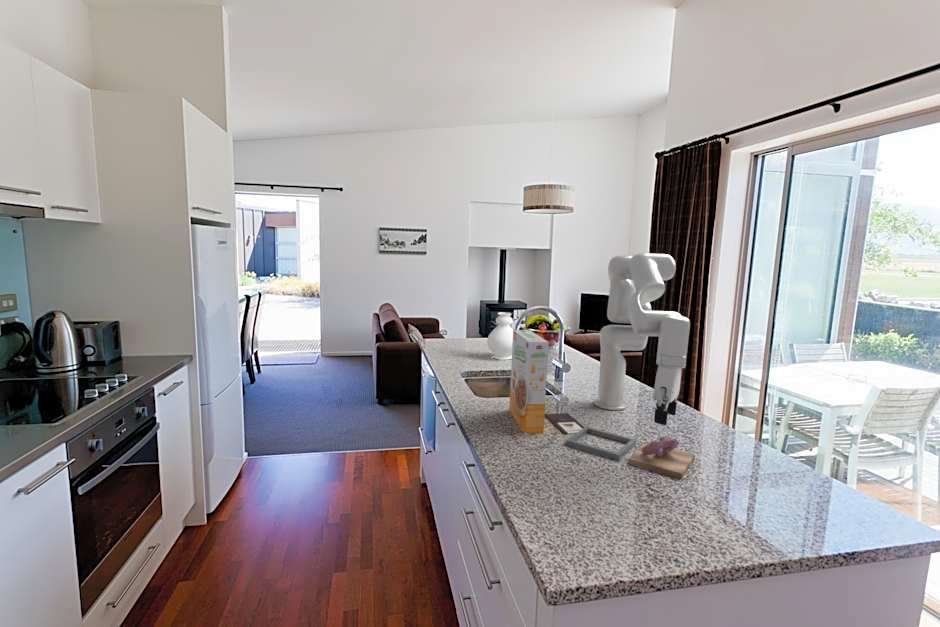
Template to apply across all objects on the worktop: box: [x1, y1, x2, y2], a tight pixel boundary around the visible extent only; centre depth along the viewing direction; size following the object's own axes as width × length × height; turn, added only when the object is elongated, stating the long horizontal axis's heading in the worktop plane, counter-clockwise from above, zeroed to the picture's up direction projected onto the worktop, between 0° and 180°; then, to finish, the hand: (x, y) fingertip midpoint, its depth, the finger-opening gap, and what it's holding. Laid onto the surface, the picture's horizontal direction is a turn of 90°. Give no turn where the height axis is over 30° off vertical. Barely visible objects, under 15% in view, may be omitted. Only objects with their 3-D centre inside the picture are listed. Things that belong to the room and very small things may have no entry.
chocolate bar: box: [544, 412, 590, 435], centre depth 162 cm, size 9×1×18 cm
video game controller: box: [642, 435, 680, 456], centre depth 135 cm, size 10×5×7 cm, turn 118°
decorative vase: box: [486, 311, 514, 359], centre depth 260 cm, size 18×18×25 cm
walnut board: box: [628, 441, 696, 480], centre depth 135 cm, size 16×14×2 cm
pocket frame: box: [565, 426, 637, 461], centre depth 146 cm, size 15×16×2 cm
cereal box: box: [508, 329, 550, 434], centre depth 162 cm, size 22×6×30 cm, turn 8°
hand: (664, 418), depth 134 cm, fingers open, 9 cm apart
